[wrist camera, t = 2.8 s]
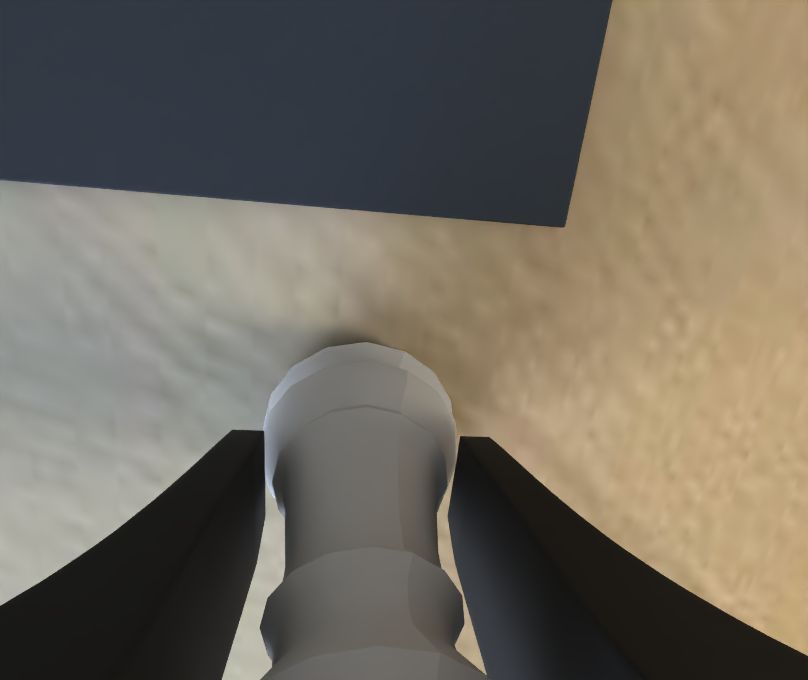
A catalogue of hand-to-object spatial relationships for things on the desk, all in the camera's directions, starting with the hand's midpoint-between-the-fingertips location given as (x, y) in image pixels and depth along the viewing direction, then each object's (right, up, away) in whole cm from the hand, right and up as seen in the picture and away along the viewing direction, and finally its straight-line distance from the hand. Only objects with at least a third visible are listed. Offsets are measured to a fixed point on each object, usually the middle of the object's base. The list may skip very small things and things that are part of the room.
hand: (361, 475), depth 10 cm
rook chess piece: (0, +1, +2) cm, 2 cm away
